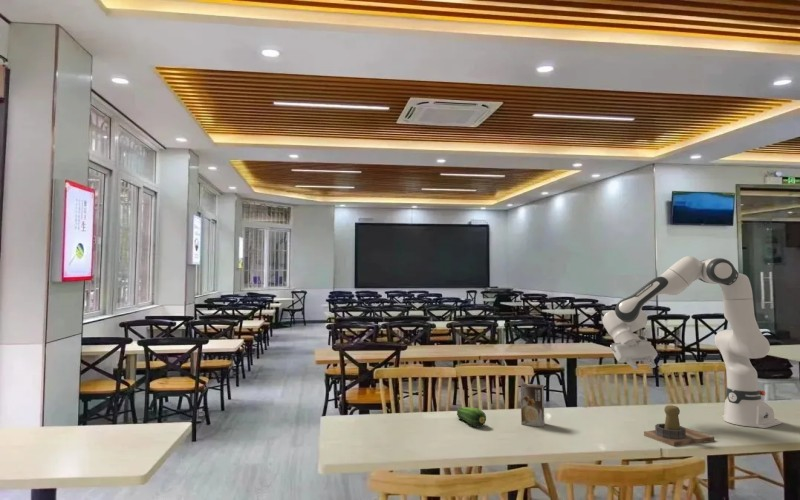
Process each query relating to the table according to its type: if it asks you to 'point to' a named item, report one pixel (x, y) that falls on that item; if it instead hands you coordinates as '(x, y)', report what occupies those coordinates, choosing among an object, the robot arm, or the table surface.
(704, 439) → the caddy board
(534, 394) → the coffee box
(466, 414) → the vegetable
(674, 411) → the cork
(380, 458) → the table surface
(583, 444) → the table surface
